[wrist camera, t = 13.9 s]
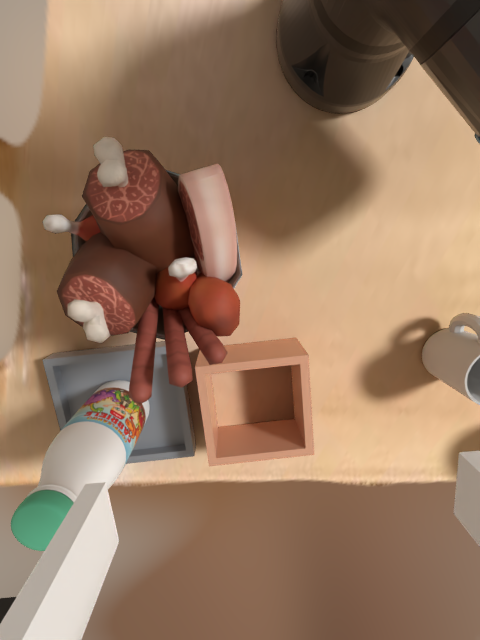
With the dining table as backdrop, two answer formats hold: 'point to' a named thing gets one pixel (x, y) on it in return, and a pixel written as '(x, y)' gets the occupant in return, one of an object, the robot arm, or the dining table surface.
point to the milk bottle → (81, 460)
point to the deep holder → (262, 436)
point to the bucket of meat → (152, 261)
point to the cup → (456, 356)
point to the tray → (116, 364)
